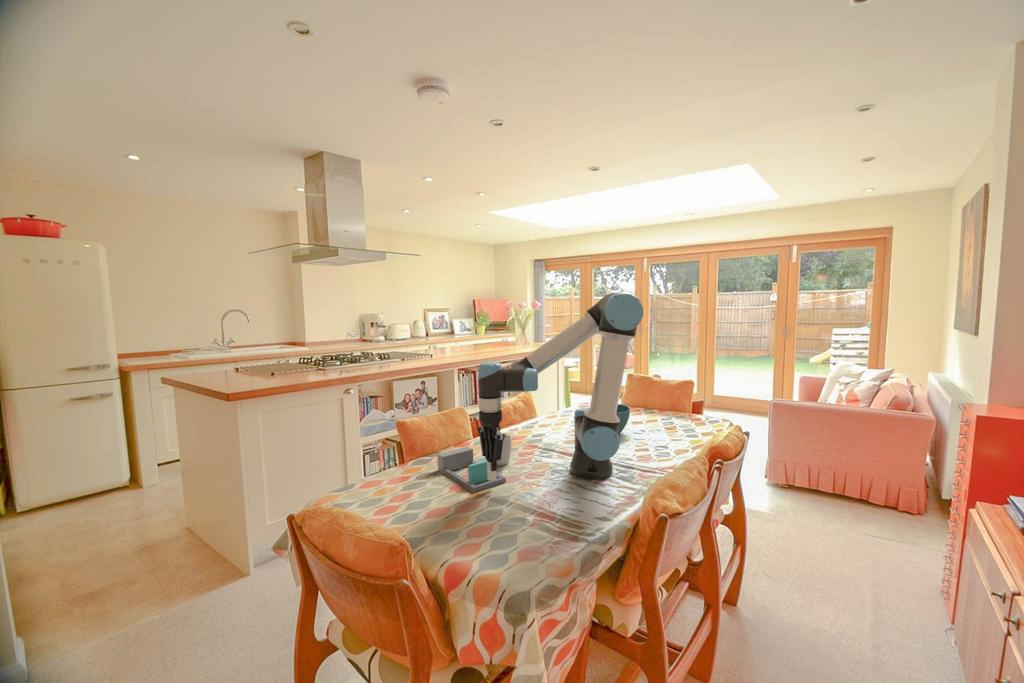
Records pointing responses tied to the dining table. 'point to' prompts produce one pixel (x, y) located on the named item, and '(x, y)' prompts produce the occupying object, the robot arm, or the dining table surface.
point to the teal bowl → (622, 416)
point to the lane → (460, 460)
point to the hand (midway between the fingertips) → (492, 479)
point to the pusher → (478, 472)
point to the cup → (505, 451)
